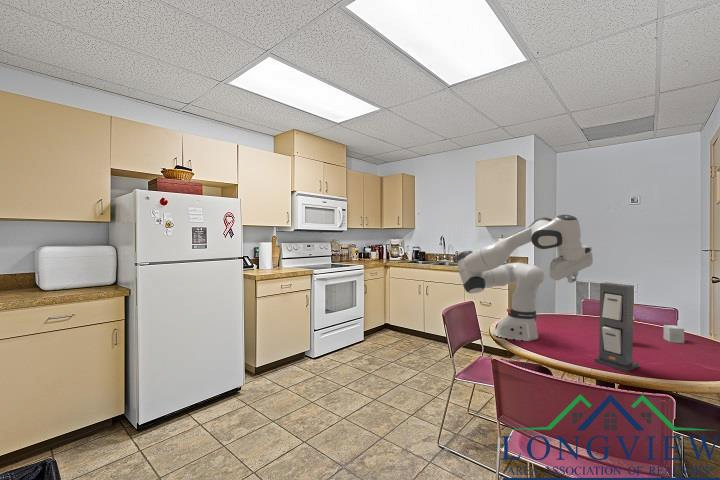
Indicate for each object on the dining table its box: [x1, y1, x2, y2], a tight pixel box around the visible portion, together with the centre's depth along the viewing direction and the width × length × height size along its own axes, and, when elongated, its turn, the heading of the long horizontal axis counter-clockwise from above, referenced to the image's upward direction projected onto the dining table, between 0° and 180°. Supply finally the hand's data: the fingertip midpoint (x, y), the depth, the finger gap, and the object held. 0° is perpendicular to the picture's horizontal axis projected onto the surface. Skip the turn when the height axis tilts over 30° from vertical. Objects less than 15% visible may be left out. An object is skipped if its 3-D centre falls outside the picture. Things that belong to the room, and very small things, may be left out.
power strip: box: [594, 281, 640, 373], centre depth 142 cm, size 10×12×34 cm
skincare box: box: [663, 324, 685, 344], centre depth 171 cm, size 6×6×7 cm
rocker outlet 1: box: [602, 326, 622, 354], centre depth 141 cm, size 2×6×10 cm, turn 28°
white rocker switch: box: [602, 293, 623, 321], centre depth 140 cm, size 2×6×10 cm, turn 29°
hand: (572, 281), depth 146 cm, fingers closed
